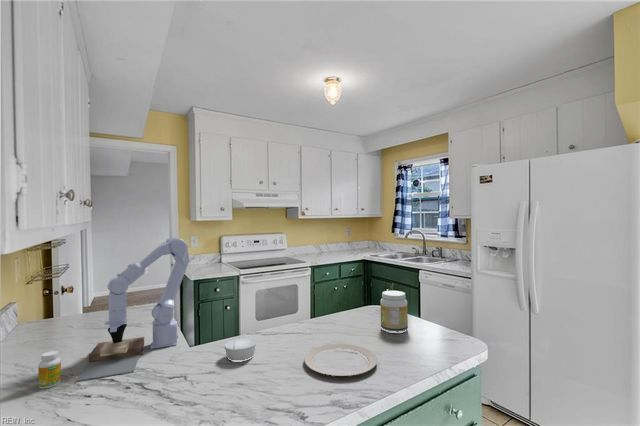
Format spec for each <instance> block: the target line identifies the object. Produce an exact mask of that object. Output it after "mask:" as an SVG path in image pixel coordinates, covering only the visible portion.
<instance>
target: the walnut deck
mask: <svg viewBox="0 0 640 426" xmlns="http://www.w3.org/2000/svg"><path fill="white" fill-rule="evenodd" d="M125 341H129V348H128V350H127V352H126V353H120V354H113V355H107V356H100V350H101V349H102V347H103V346H104V344H111V343H113V341H112V340H110V341H103V342H98V343H97V344H96V345H95V347H94V348H93V349H92V351H91V352H90V353H89V355H88V363H89V362H96V361H102V360H109V359H115V358H122V357H129V356H135V355H140V356H141V353H142V351H143V349H144V346H145V336H142V337H141V336H140V337H135V338H127V339H122V342H125Z"/></svg>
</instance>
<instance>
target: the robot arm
mask: <svg viewBox="0 0 640 426" xmlns="http://www.w3.org/2000/svg"><path fill="white" fill-rule="evenodd" d="M188 248H189V245H188V244H187V242H186V241H185V240H184V239H182V238H179V237H177V238H176V237H169V238H167V239H166V241H164V242H161V244H159V245H158V246H157V247H155V249H153V250H152V251H151V252H150V253H149V254H148V255H146V256H145V257H144V258H143V259H142V260H141V261H140V262H133V263H132V264H130V263H129V264H128V265H127V268H126V269H125V270H123V271H122V272H121V273H117V274H116V276H115V277H113V278H112V279H110V280H109V282H108V284H107V289H108V290H109V291H108V292H109V294H108V321H105V322H104V325H106V326H107V325H108V326H109V327H108V328H107V331H108V333H109V335H110V337H111V341H113V343H118V342H122V340H123V337H124V334H125V330H126V328H127V326H128V324H127V322H128V319H127V291H128V289H129V286H131V285H133V283H134V282H136V281H137V280H138V279H140V278H141V277H142V276H143V275H144V274H145V273H146V269H147V268H149V266H151V265H152V264H153V263H154V262H156V261H158V259H160V258H161V257H163V256H166V255H167V256H168V255H172V257H173V259H174V261H175V262H174V264H173V267H172V270H171V272H170V275H169V277H168V281H166V284H165V285H166V286H165V288H164V290H163V293H162V296H161V297H160V298H159V300H158V301H157V303H156V305H155V306H154V307H153V308H152V310H151V316H152V318H153V319H154V320H153V321H152V341H151V345H150V349H158V348H159V349H160V348H165V347H172V346H173V347H174V346H176V345H177V344H178V339H179V334H178V321H177V320H173V318H174V309H175V300H176V297H177V294H178V293H179V292H178V291H179V289H180V286H181V284H182V281H183V279H184V276H185V274H186V273H185V272H186V270H187V267H188V265H189V262H190V255H189V249H188Z"/></svg>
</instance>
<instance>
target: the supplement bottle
mask: <svg viewBox="0 0 640 426" xmlns="http://www.w3.org/2000/svg"><path fill="white" fill-rule="evenodd" d="M61 359H62V358H60V357H59V351H58V350H50V351H47V352H44V353H42V354H41V361H40V362H39V363H38V367H37V368H38V371H37V372H38V373H37V376H38V379H37V381H38V382H37V383H38V384H37V387H38V389H48V388H49V389H51V388H53V387H56V386H57V385H60V383H61V381H62V380H61V379H62V360H61Z"/></svg>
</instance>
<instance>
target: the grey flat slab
mask: <svg viewBox="0 0 640 426" xmlns="http://www.w3.org/2000/svg"><path fill="white" fill-rule="evenodd" d="M140 356H141V354H140V355H135V356H129V357H122V358H115V359H109V360H102V361H96V362H89V361H88V363H87V364H86V366H85V367H84V368H83V370H81V372H80V374H79V376H77V378H76V380H75V383H77V382H84V381H88V380H95V379H96V380H97V379H101V378H106V377H114V376H119V375H125V373H126V374H131V373H130V372H132V373H134V372H135V368H136V366H137V364H138V361H139V359H140Z"/></svg>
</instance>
